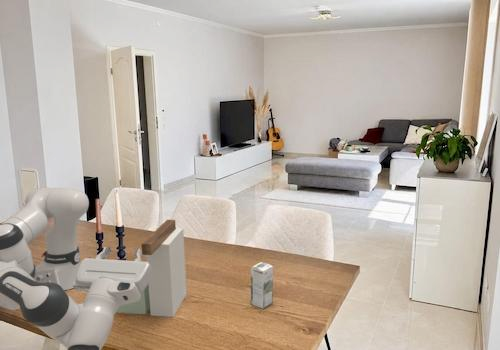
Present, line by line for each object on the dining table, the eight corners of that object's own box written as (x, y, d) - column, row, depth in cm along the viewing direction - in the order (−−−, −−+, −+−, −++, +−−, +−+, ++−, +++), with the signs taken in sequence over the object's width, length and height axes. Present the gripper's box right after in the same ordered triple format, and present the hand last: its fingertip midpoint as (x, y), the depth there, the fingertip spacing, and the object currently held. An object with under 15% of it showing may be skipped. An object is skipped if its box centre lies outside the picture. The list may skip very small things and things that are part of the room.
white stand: (150, 315, 144) (145, 243, 139) (166, 293, 159) (162, 227, 154) (173, 316, 143) (168, 244, 137) (186, 294, 158) (183, 228, 153)
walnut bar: (142, 254, 129) (141, 244, 129) (167, 228, 153) (167, 219, 152) (151, 255, 129) (150, 244, 128) (175, 229, 152) (175, 219, 152)
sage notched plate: (107, 312, 147) (103, 269, 143) (113, 304, 151) (109, 263, 148) (145, 314, 145) (142, 271, 141) (150, 306, 150) (147, 264, 146)
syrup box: (260, 298, 154) (260, 261, 151) (273, 303, 151) (273, 265, 148) (250, 304, 150) (250, 266, 147) (263, 309, 146) (263, 270, 143)
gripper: (74, 295, 116) (93, 253, 125) (145, 301, 112) (159, 256, 122) (65, 283, 111) (86, 240, 121) (138, 289, 108) (153, 244, 117)
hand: (123, 248), depth 121 cm, fingers open, 8 cm apart
